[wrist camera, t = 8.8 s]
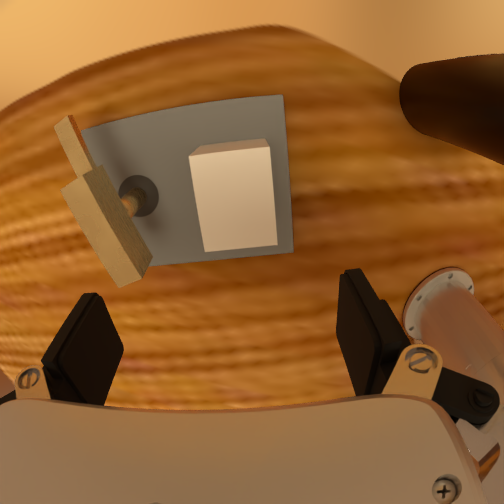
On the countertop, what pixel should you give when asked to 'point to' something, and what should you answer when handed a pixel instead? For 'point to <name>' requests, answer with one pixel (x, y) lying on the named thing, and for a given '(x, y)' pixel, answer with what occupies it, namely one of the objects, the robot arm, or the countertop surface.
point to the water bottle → (458, 102)
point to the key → (104, 210)
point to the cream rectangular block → (234, 194)
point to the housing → (189, 170)
